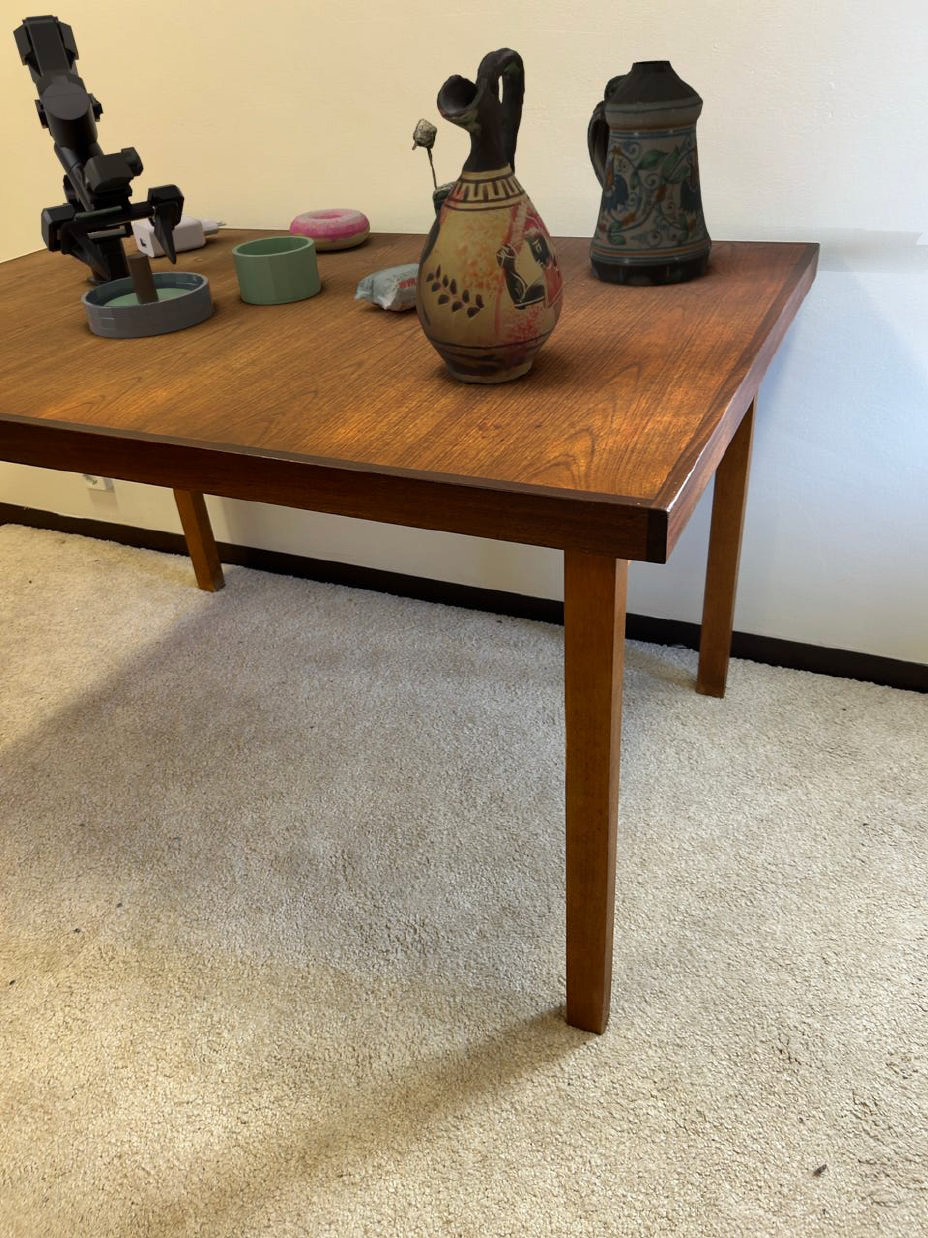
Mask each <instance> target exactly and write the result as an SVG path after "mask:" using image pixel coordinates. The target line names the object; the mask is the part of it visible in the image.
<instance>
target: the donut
mask: <svg viewBox="0 0 928 1238" xmlns="http://www.w3.org/2000/svg"><path fill="white" fill-rule="evenodd" d="M370 223H371V222H370V220H369V219H368V217H367V215H366V214H364V213H363V212H362V211H360V210H357V209H352V208H342V207H341V208H337V207H335V208H325V209H317V210H312V211H308V212H304V213H301V214H299V215H297V216H296V217H294V218H293V219H292V221H291V223H290V225H289V229H288V230H289V236H304V237H307V238H311V239H312V240H313V241H314V245H315V251H316V252H317V251H318V252H322V251H323V252H324V251H337V250H345V249H348V248H352V247H355V246H358V245H360V244H362V243H363V242H365V240H367V238H368V237H369V235H370V231H371V224H370Z"/></svg>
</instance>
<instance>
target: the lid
mask: <svg viewBox="0 0 928 1238" xmlns="http://www.w3.org/2000/svg"><path fill="white" fill-rule="evenodd" d="M126 259H127V263H128V267H129V270H130V274H131V278H132V282H133V285H134V289H135V293H132V294H128V295H124V296H121V297H118V298H116V299H113V300H111V301H109V302H108V303H106V304H105V305H104V306H130V305H139V304H146V303H152V302H157V301H162V300H166V299H170V298H174V297H178V296H180V295H183V294H186V293H189V292H191V291H189V290H185V289H177V288H166V289H156V286H155V282H154V278H153V274H152V273H153V270H152V267H151V266H152V265H151V263H150V259H149V255H148V254H146V253H143V252H137V253H133V254H128V255H126Z"/></svg>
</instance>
